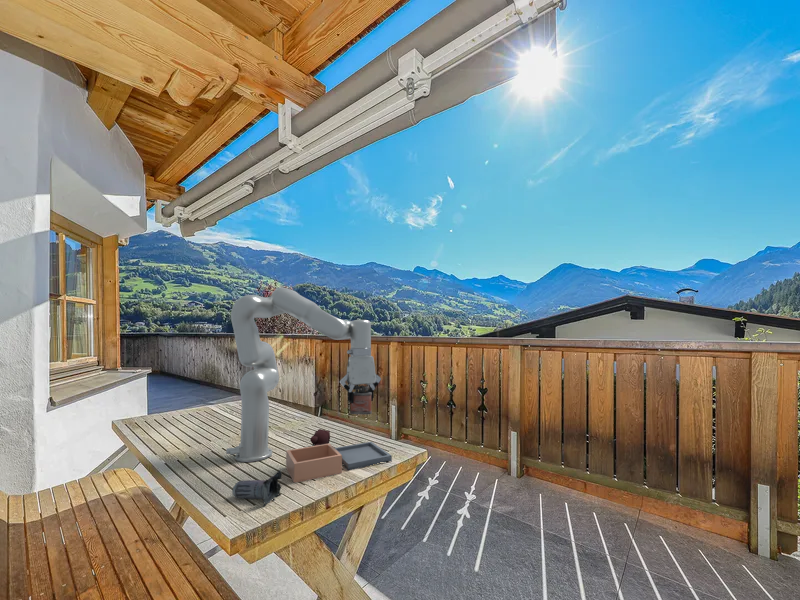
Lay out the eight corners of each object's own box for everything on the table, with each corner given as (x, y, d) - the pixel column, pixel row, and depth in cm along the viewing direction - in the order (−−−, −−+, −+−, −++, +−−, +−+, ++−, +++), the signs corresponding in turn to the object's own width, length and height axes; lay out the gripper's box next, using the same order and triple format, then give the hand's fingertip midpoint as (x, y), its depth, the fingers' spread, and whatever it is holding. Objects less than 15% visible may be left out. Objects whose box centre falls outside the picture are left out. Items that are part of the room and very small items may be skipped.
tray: (348, 470, 112) (348, 464, 112) (332, 453, 128) (332, 448, 128) (391, 461, 119) (391, 455, 120) (371, 446, 135) (371, 441, 135)
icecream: (319, 424, 145) (301, 438, 130) (334, 421, 144) (318, 434, 129) (323, 441, 145) (306, 456, 130) (339, 437, 143) (323, 452, 128)
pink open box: (294, 482, 103) (294, 463, 103) (286, 467, 115) (286, 450, 116) (341, 472, 110) (341, 455, 110) (329, 459, 122) (329, 443, 123)
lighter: (372, 412, 126) (372, 385, 127) (370, 414, 123) (370, 386, 124) (351, 411, 127) (352, 384, 128) (349, 414, 124) (349, 386, 125)
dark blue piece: (281, 500, 95) (242, 499, 97) (283, 469, 98) (245, 469, 100) (263, 509, 87) (221, 508, 89) (266, 476, 89) (225, 476, 91)
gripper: (341, 354, 120) (341, 406, 118) (386, 352, 128) (386, 400, 126) (335, 353, 127) (334, 402, 125) (377, 351, 135) (378, 397, 133)
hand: (360, 401), depth 126 cm, fingers closed on lighter, 7 cm apart
